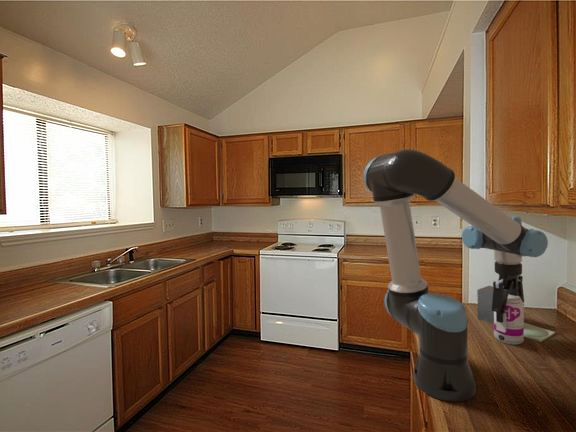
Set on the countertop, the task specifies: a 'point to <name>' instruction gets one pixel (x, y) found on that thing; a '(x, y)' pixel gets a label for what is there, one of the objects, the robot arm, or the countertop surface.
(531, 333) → the pad
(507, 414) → the countertop surface
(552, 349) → the countertop surface
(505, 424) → the countertop surface
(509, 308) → the supplement can
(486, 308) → the box
